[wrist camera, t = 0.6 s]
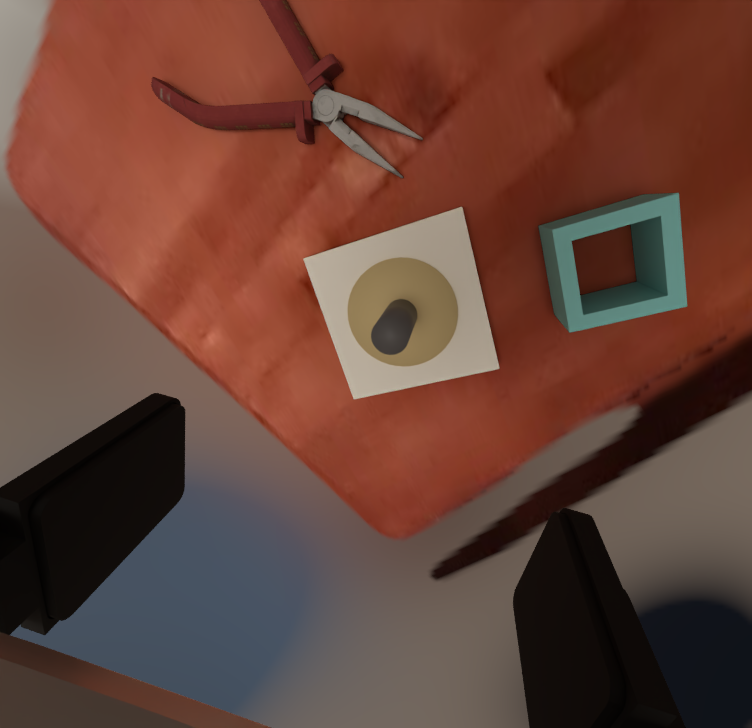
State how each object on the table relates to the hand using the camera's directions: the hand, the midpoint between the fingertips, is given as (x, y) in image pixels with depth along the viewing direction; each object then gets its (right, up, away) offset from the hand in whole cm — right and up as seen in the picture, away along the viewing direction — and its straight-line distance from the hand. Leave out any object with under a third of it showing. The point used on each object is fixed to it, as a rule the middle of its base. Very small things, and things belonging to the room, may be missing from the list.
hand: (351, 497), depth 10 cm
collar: (+17, +11, +20) cm, 29 cm away
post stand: (+3, +8, +24) cm, 26 cm away
